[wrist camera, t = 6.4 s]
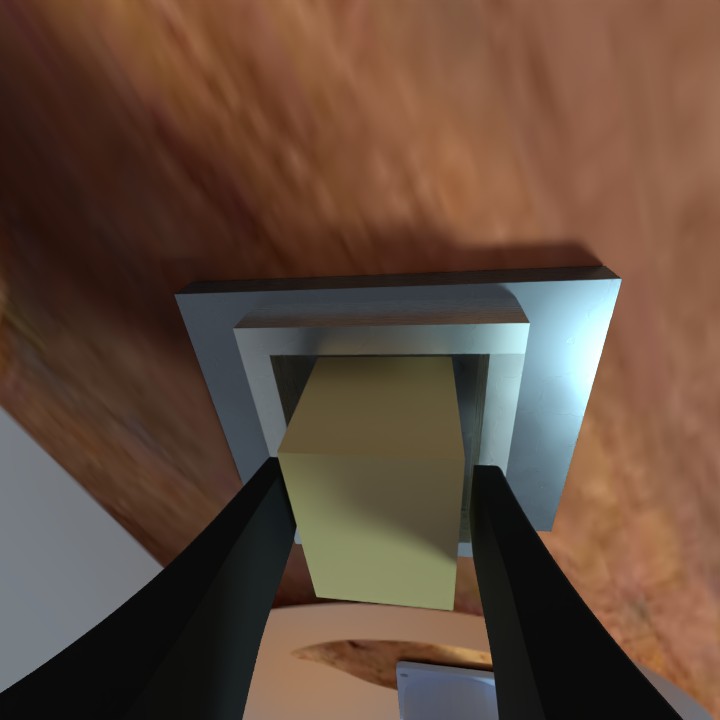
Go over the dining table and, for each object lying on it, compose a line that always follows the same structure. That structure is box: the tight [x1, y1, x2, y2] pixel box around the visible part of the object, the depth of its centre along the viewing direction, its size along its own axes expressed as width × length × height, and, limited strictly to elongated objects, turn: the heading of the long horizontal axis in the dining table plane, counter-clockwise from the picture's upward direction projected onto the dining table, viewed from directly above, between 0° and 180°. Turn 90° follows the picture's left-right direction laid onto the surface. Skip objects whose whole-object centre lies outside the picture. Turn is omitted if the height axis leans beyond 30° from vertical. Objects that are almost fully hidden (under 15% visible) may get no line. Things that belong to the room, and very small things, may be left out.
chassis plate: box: [174, 266, 622, 557], centre depth 13 cm, size 10×12×2 cm
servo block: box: [277, 357, 465, 610], centre depth 11 cm, size 6×4×4 cm, turn 5°
